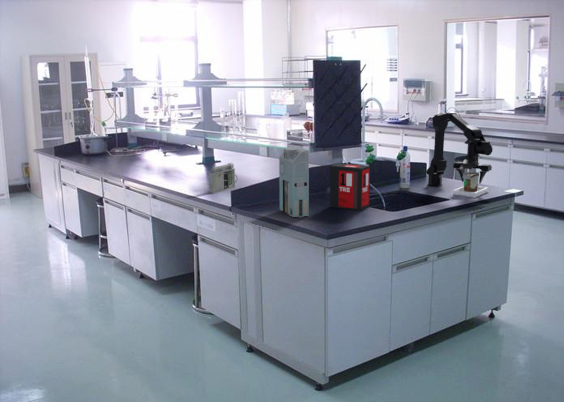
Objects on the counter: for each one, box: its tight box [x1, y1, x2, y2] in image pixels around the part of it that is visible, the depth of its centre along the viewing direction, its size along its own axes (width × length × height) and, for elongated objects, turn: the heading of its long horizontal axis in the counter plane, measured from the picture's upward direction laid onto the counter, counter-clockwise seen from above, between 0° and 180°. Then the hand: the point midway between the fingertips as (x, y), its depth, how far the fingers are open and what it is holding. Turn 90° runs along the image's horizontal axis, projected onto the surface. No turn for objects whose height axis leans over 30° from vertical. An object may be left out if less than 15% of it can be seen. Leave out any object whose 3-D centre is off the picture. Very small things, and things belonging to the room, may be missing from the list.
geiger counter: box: [206, 162, 239, 194], centre depth 348 cm, size 14×6×25 cm
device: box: [278, 145, 310, 218], centre depth 288 cm, size 16×8×30 cm, turn 21°
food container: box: [462, 171, 480, 192], centre depth 332 cm, size 12×6×10 cm, turn 142°
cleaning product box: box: [329, 162, 371, 212], centre depth 302 cm, size 16×9×20 cm, turn 58°
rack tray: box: [452, 185, 489, 199], centre depth 332 cm, size 12×18×2 cm, turn 142°
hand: (471, 182), depth 331 cm, fingers open, 9 cm apart
